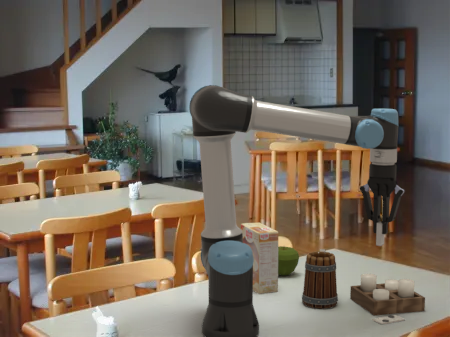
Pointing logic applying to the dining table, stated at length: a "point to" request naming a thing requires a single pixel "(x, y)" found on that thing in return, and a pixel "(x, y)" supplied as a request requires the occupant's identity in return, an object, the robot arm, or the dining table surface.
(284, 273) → the apple
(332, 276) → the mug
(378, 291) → the button
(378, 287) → the wooden compartment tray
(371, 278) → the button
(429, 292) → the dining table surface
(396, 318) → the card
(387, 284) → the button
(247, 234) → the coffeecake box
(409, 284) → the button
